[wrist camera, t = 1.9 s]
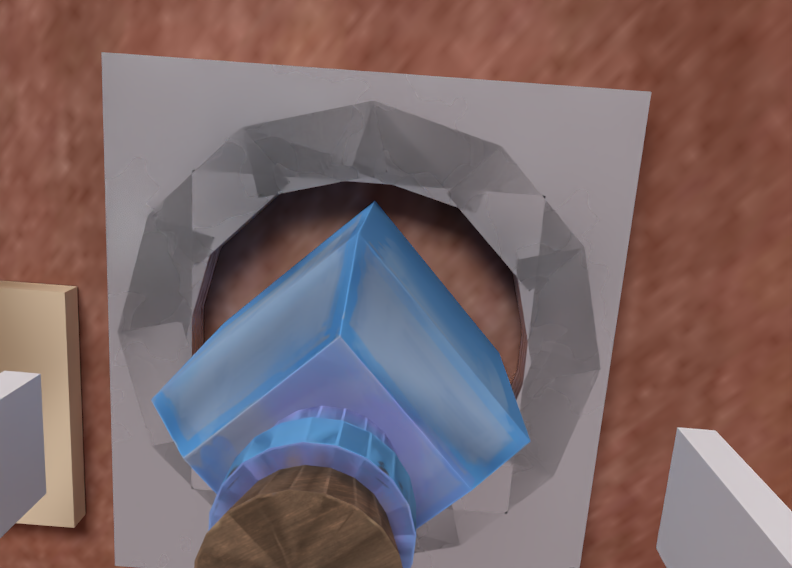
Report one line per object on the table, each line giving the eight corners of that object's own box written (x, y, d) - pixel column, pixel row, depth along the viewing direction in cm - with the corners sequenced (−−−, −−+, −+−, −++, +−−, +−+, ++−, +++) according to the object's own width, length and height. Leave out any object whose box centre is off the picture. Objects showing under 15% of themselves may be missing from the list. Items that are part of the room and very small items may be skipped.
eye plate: (129, 543, 24) (115, 565, 23) (119, 56, 20) (101, 52, 19) (566, 578, 24) (574, 602, 22) (637, 93, 20) (651, 92, 19)
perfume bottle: (348, 463, 23) (280, 820, 11) (223, 322, 22) (4, 554, 10) (499, 353, 22) (595, 620, 10) (374, 200, 21) (322, 301, 9)
